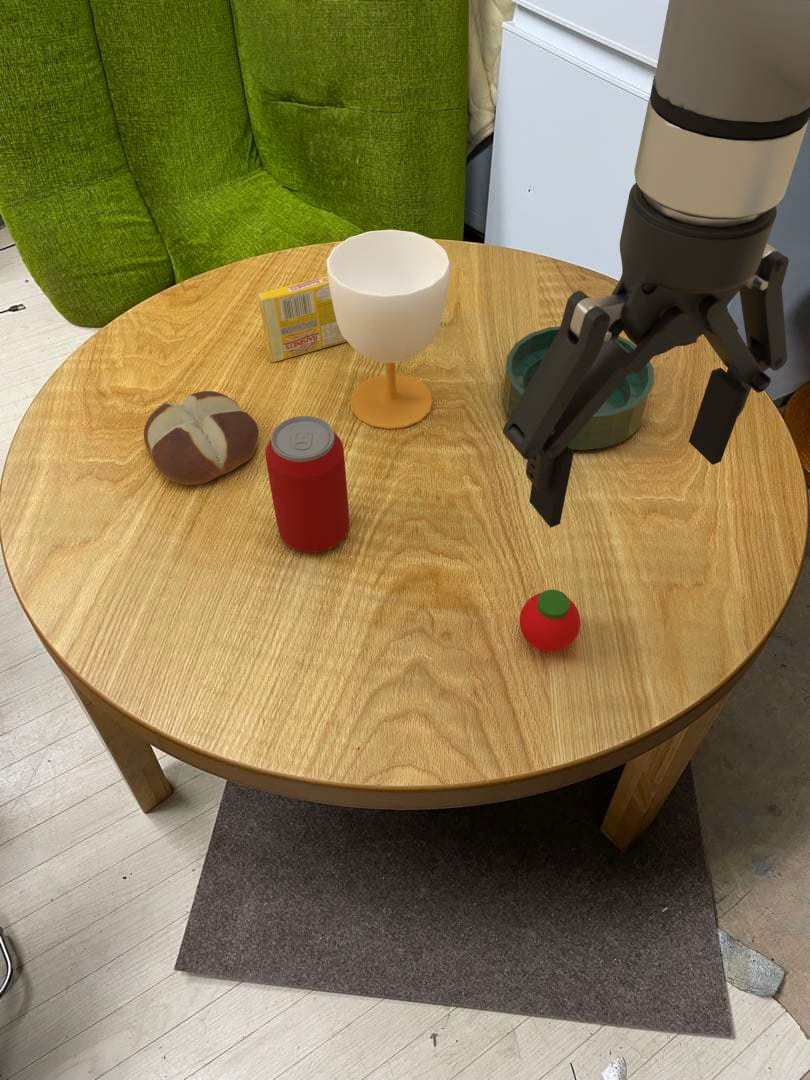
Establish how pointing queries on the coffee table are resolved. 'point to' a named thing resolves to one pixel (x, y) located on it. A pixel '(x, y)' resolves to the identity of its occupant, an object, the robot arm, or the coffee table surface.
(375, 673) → the coffee table surface
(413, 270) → the cup
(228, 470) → the bread
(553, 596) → the tomato
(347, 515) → the beverage can
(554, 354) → the robot arm
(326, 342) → the candy box
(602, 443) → the bowl
